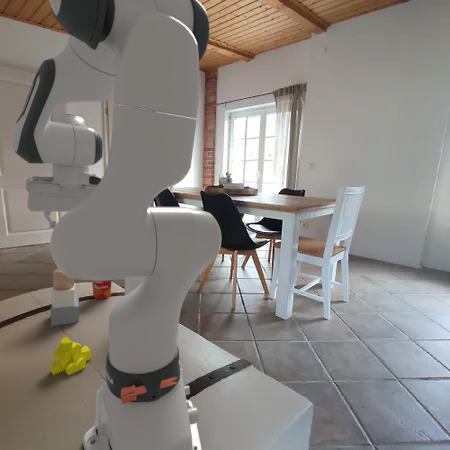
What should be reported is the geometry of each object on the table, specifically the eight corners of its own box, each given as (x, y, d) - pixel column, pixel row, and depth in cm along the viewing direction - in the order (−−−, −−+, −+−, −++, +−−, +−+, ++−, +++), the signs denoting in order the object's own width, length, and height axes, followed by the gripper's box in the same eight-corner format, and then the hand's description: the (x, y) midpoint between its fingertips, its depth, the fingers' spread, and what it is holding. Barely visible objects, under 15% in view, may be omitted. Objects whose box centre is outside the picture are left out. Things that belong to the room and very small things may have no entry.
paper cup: (85, 298, 98) (84, 259, 95) (100, 290, 105) (100, 254, 103) (103, 302, 96) (103, 262, 93) (118, 294, 103) (118, 257, 101)
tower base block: (79, 322, 82) (78, 306, 82) (51, 326, 79) (50, 310, 78) (78, 311, 88) (78, 296, 88) (52, 315, 85) (52, 300, 84)
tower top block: (74, 306, 82) (74, 289, 81) (52, 308, 79) (51, 291, 79) (76, 298, 86) (75, 283, 86) (55, 300, 84) (54, 284, 83)
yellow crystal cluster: (95, 363, 65) (94, 332, 64) (57, 380, 59) (56, 347, 58) (83, 352, 69) (83, 322, 68) (47, 367, 63) (45, 335, 61)
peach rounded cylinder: (74, 288, 81) (73, 272, 81) (53, 291, 79) (52, 274, 78) (74, 282, 86) (73, 266, 85) (54, 284, 83) (53, 268, 83)
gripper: (23, 175, 70) (26, 230, 72) (111, 180, 79) (111, 228, 81) (27, 175, 75) (29, 226, 77) (109, 179, 85) (109, 224, 87)
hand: (72, 227), depth 79 cm, fingers open, 8 cm apart
